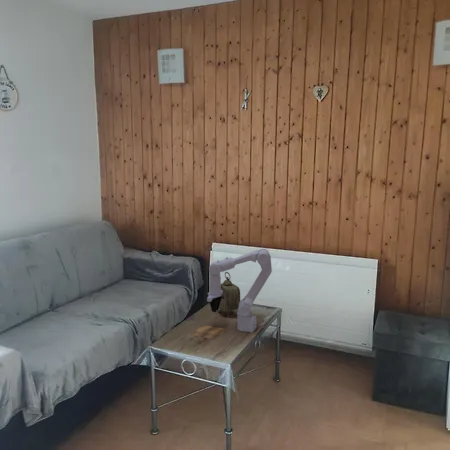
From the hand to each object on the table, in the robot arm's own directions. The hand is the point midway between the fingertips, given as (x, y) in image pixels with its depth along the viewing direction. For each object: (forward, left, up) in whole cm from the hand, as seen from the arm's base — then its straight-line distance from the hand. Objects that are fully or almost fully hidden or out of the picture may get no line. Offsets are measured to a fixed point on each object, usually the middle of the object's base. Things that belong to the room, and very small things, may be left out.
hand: (215, 311), depth 225 cm
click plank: (+1, +3, -10) cm, 11 cm away
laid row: (+1, +10, -10) cm, 15 cm away
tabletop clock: (+3, -23, -11) cm, 26 cm away
